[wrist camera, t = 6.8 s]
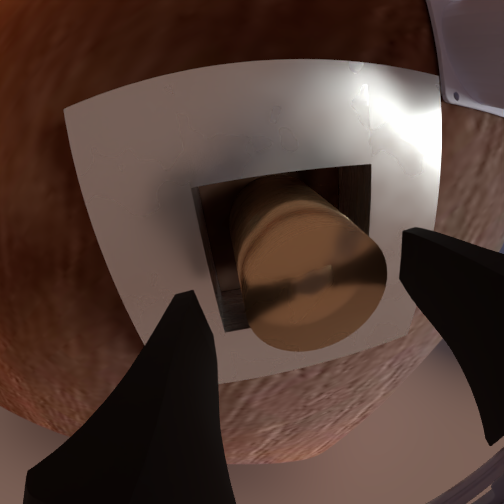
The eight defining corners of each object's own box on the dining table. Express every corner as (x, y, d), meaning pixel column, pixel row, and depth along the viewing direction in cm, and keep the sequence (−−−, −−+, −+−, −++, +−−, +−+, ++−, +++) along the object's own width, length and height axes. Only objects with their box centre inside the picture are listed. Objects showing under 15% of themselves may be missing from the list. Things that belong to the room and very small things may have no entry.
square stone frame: (398, 77, 10) (438, 76, 8) (384, 305, 17) (407, 334, 14) (95, 108, 9) (63, 109, 7) (172, 350, 16) (170, 389, 13)
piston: (309, 162, 12) (383, 205, 7) (327, 244, 14) (386, 320, 9) (214, 193, 12) (221, 262, 7) (246, 273, 14) (269, 367, 9)
